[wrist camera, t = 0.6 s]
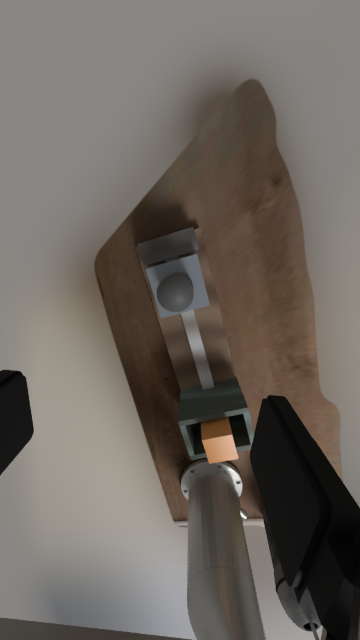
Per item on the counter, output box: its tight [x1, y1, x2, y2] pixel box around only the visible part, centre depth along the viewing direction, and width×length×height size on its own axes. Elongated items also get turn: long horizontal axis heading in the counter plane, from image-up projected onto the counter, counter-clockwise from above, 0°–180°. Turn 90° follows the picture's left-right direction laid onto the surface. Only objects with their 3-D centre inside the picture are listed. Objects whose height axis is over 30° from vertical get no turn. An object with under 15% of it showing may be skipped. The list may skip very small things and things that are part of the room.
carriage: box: [146, 254, 210, 318], centre depth 28 cm, size 7×7×10 cm
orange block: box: [201, 417, 238, 464], centre depth 31 cm, size 4×4×4 cm
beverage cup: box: [262, 508, 321, 640], centre depth 37 cm, size 7×7×20 cm
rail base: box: [136, 227, 254, 460], centre depth 33 cm, size 32×10×10 cm, turn 16°
